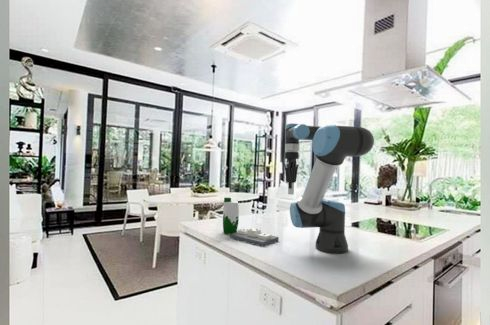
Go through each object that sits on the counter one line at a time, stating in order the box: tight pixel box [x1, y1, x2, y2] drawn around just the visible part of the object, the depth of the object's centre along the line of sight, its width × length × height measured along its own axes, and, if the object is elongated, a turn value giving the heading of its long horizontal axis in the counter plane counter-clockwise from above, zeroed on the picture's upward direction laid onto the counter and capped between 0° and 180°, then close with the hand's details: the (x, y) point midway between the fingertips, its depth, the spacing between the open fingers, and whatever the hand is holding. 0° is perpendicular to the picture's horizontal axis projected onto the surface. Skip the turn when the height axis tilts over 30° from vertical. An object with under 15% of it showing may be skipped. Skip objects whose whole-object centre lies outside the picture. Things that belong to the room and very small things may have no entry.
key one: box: [258, 232, 272, 240], centre depth 141 cm, size 5×5×4 cm
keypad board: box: [229, 231, 279, 247], centre depth 146 cm, size 22×14×2 cm, turn 50°
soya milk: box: [222, 197, 240, 235], centre depth 160 cm, size 9×9×20 cm
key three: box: [237, 228, 247, 235], centre depth 150 cm, size 5×5×4 cm
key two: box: [246, 227, 261, 237], centre depth 146 cm, size 5×5×4 cm
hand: (290, 194), depth 152 cm, fingers closed
